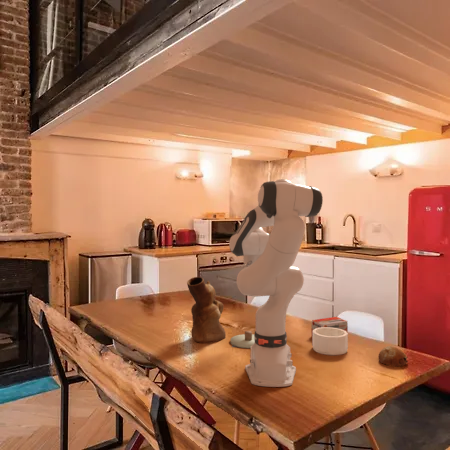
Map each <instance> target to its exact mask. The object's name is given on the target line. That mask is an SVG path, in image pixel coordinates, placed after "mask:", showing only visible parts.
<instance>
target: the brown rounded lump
mask: <svg viewBox="0 0 450 450" xmlns="http://www.w3.org/2000/svg"><path fill="white" fill-rule="evenodd" d="M407 359H408V356H407V354H406V353H405V352H404V351H403V350H401V349H399V348H398V347H395V346H393V345H387V346H385V347H383V348H382V349H380V351H379V352H378V360H379V362H380V363H381V364H382V363H383V365H385V364H386V365H385V366H389V365H393V366H392V367H404V366H405V365H406V364H408V363H409V361H408V360H407ZM403 365H404V366H403Z"/></svg>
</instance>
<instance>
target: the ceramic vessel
mask: <svg viewBox="0 0 450 450" xmlns="http://www.w3.org/2000/svg"><path fill="white" fill-rule="evenodd" d="M186 284H187V288H188V290H189V293H190V294H191V296H192V298H193V300H194V301H195V302H194V304H193V305H192V307H191V310H190V311H191V315H192V316H191V317H192V327H191V330H190V331H191V332H190V333H191V339H193V341H195V342H196V343H199V344H211V343H216V342H219V341H221V340H223V339H225V338H226V330H225V328H224V327H223V325H222V324H221V323H220V319H221V316H222V313H223V312H224V304H223V302H221V301H219V300H217V299H216V296H217V295H216V289H215V288H214V286H213V285H211V282H210V280H207V281H206V282H205V280H204V278H203V277H202V276H195V277H192V278H190V279H188V280H187V281H186Z"/></svg>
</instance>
